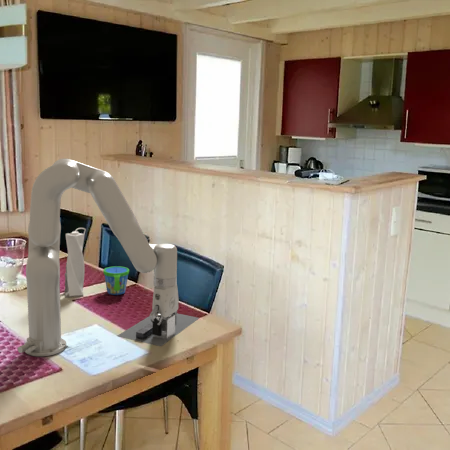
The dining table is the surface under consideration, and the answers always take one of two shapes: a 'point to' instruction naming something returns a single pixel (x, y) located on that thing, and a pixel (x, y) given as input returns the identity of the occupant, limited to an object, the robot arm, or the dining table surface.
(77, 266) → the skyscraper
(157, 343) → the tool mat
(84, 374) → the dining table surface
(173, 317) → the light grey block
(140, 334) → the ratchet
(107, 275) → the snack cup
